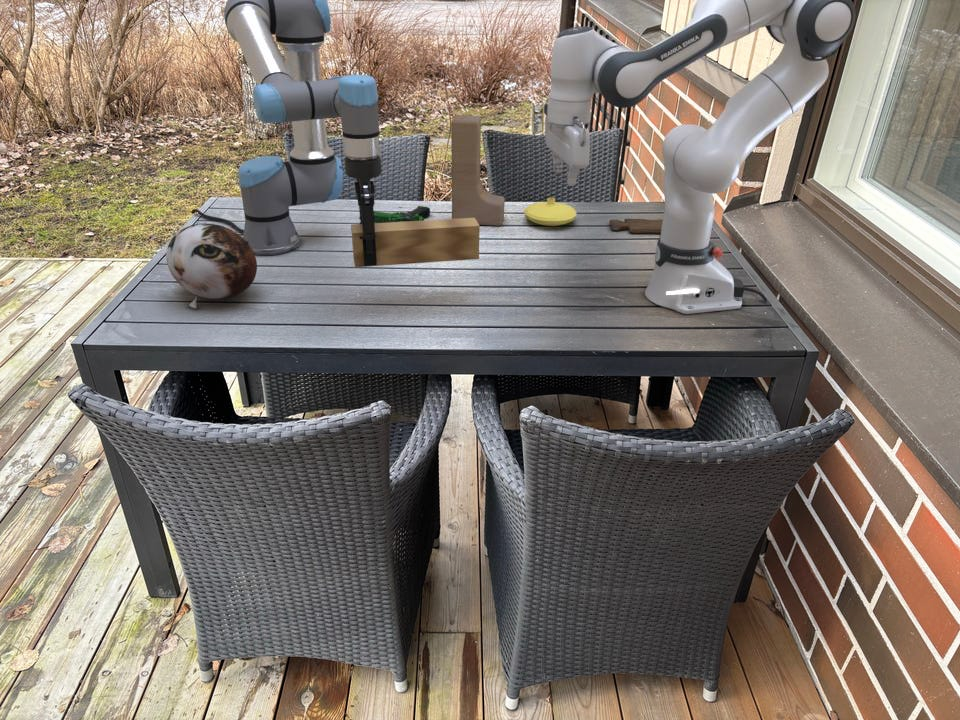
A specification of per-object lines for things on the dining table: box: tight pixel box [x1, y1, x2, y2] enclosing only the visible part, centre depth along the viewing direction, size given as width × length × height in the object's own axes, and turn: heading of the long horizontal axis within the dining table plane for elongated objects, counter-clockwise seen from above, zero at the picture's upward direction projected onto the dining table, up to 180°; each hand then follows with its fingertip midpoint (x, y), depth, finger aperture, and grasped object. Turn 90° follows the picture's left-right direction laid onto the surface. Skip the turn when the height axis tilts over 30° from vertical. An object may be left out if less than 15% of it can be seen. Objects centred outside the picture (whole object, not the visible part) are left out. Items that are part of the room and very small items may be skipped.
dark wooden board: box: [608, 218, 663, 234], centre depth 212 cm, size 26×2×10 cm
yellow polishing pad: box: [523, 197, 578, 227], centre depth 214 cm, size 16×16×7 cm
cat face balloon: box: [165, 222, 258, 309], centre depth 165 cm, size 22×18×20 cm
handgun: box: [374, 205, 431, 223], centre depth 216 cm, size 16×3×15 cm
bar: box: [350, 218, 481, 268], centre depth 160 cm, size 28×5×8 cm, turn 102°
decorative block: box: [450, 114, 506, 227], centre depth 208 cm, size 8×15×30 cm, turn 82°
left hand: (369, 259), depth 160 cm, fingers closed on bar, 5 cm apart
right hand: (564, 178), depth 156 cm, fingers open, 8 cm apart
